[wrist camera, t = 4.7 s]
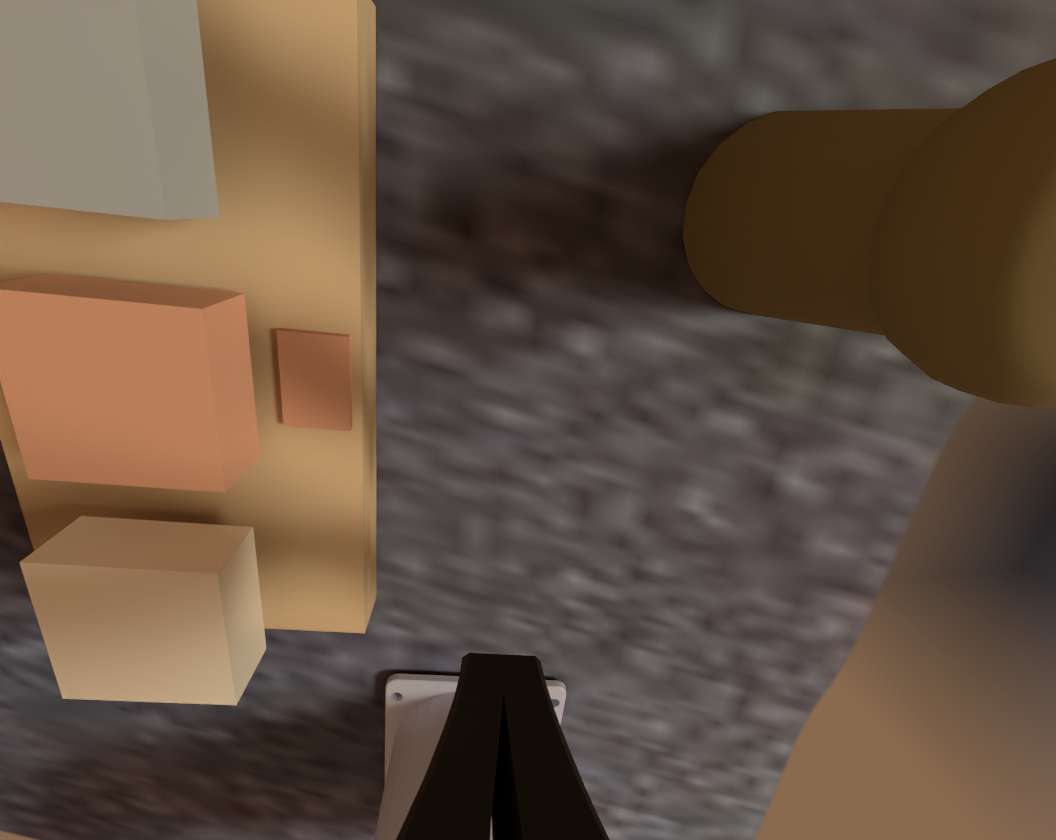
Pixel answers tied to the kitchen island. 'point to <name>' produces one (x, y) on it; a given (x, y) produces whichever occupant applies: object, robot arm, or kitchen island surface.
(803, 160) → the butternut squash
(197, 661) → the button cream
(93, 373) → the button terracotta
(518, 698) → the robot arm
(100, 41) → the button slate
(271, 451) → the button board
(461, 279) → the kitchen island surface
